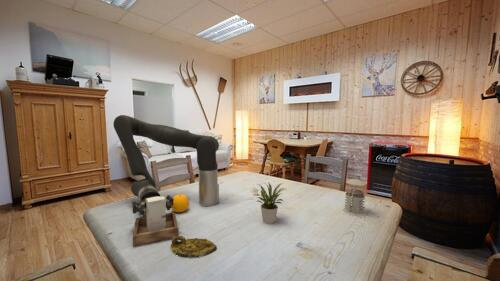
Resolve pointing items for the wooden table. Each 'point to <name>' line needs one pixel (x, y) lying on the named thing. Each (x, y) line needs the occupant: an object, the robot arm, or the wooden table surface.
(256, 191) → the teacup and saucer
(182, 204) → the orange
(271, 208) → the house plant
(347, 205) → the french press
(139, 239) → the walnut box
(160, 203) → the skincare box
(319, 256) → the wooden table surface
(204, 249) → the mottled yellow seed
